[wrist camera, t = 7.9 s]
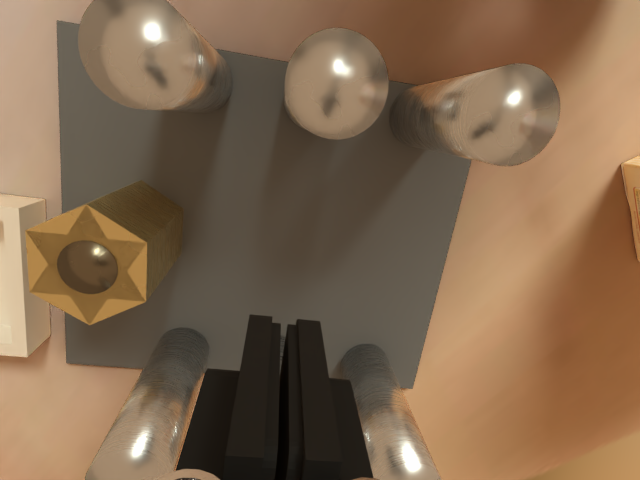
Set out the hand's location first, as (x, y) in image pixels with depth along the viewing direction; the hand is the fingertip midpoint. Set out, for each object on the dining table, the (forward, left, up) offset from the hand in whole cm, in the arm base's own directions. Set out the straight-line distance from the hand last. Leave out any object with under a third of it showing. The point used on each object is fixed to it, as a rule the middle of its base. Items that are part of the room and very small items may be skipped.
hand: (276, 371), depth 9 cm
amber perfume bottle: (+1, -7, -13) cm, 15 cm away
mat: (+1, -1, -13) cm, 13 cm away
